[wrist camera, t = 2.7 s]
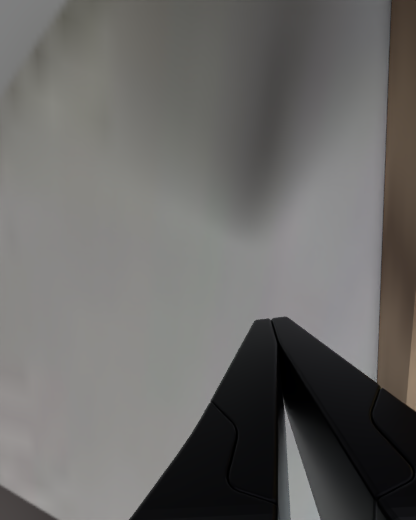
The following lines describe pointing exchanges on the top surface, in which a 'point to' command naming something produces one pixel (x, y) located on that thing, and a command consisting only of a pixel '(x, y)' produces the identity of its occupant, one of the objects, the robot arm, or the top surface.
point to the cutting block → (400, 214)
